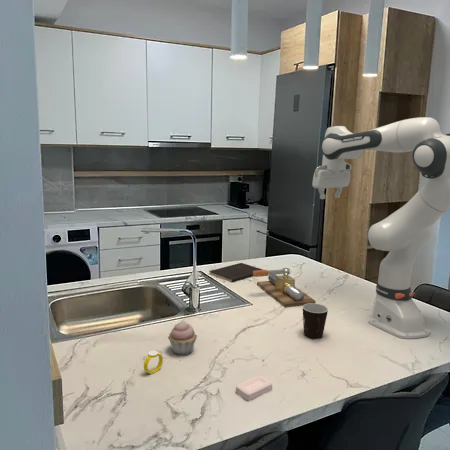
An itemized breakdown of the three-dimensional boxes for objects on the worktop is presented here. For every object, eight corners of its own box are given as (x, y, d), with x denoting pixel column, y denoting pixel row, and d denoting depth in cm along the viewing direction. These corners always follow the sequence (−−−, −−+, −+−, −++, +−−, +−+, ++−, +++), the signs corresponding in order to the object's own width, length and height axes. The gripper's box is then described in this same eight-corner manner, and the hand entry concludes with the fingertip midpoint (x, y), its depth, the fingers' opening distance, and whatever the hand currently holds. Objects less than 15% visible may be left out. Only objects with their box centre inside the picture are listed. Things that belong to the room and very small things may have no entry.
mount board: (315, 304, 179) (315, 300, 179) (285, 307, 174) (285, 304, 174) (284, 282, 205) (284, 279, 204) (257, 285, 200) (257, 281, 200)
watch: (148, 378, 121) (147, 359, 120) (142, 374, 123) (141, 355, 121) (165, 368, 126) (163, 350, 124) (158, 365, 127) (157, 347, 126)
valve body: (305, 302, 178) (306, 283, 177) (293, 303, 176) (294, 284, 175) (277, 282, 202) (278, 265, 200) (266, 283, 200) (267, 266, 199)
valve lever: (287, 272, 190) (287, 267, 189) (290, 274, 187) (291, 269, 186) (252, 274, 184) (252, 270, 184) (255, 277, 181) (255, 272, 181)
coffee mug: (304, 327, 156) (306, 301, 154) (328, 333, 152) (330, 306, 150) (294, 340, 146) (296, 312, 144) (320, 346, 142) (322, 318, 140)
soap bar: (272, 390, 117) (273, 382, 117) (248, 402, 112) (248, 394, 111) (259, 381, 121) (259, 373, 121) (234, 393, 116) (234, 384, 115)
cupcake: (195, 342, 142) (196, 314, 140) (198, 356, 133) (199, 326, 131) (166, 344, 141) (167, 315, 139) (168, 358, 132) (168, 327, 130)
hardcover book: (208, 275, 213) (209, 270, 213) (241, 266, 229) (241, 262, 229) (232, 283, 202) (232, 279, 202) (264, 274, 218) (264, 269, 218)
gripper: (322, 166, 173) (319, 200, 176) (353, 165, 185) (350, 197, 188) (310, 165, 178) (307, 198, 181) (341, 164, 190) (339, 195, 193)
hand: (329, 198), depth 184 cm, fingers open, 8 cm apart
